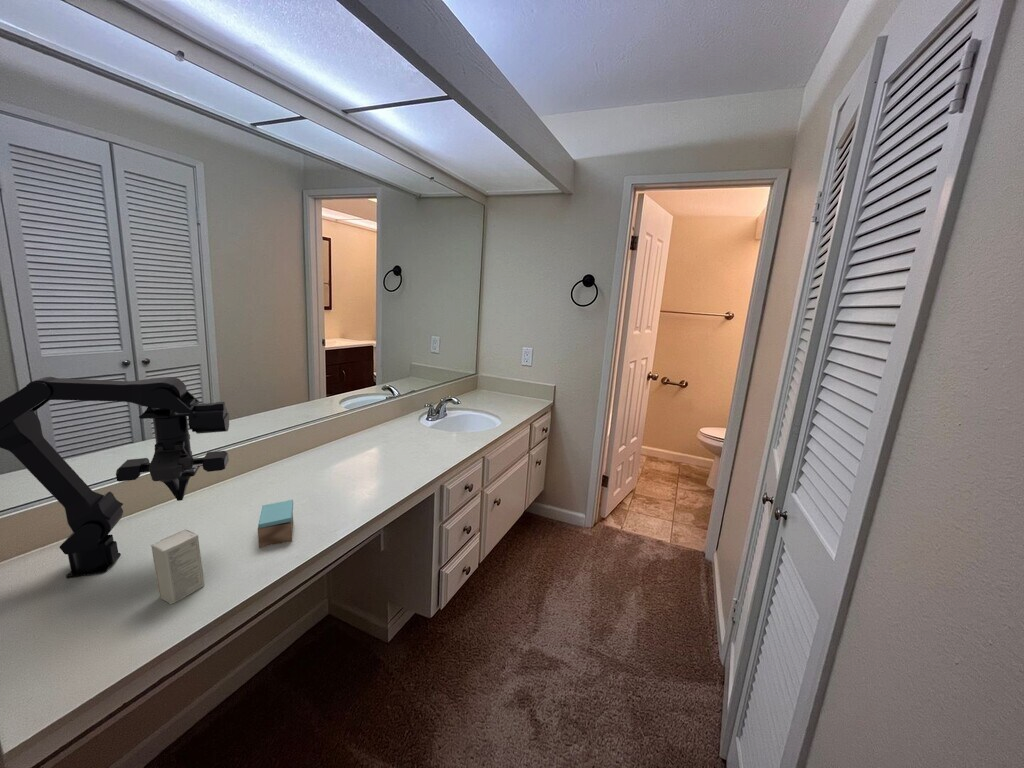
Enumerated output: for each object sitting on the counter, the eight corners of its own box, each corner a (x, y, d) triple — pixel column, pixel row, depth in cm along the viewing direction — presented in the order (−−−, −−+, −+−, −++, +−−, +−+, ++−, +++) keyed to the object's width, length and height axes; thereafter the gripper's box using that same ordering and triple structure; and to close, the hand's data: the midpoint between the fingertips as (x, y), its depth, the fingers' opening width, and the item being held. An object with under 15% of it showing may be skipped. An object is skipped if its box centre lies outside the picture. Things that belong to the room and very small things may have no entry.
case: (259, 547, 98) (257, 528, 97) (262, 527, 106) (261, 510, 104) (291, 541, 101) (290, 523, 100) (293, 522, 109) (292, 505, 108)
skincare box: (192, 579, 86) (186, 527, 84) (205, 586, 84) (199, 534, 82) (157, 598, 81) (149, 544, 78) (170, 606, 79) (162, 550, 76)
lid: (258, 528, 97) (258, 524, 96) (262, 509, 105) (262, 505, 104) (291, 521, 99) (291, 517, 99) (293, 503, 108) (292, 499, 107)
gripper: (98, 453, 78) (110, 526, 81) (216, 443, 86) (223, 509, 89) (122, 434, 88) (132, 500, 91) (226, 427, 96) (231, 487, 99)
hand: (180, 499), depth 92 cm, fingers closed
